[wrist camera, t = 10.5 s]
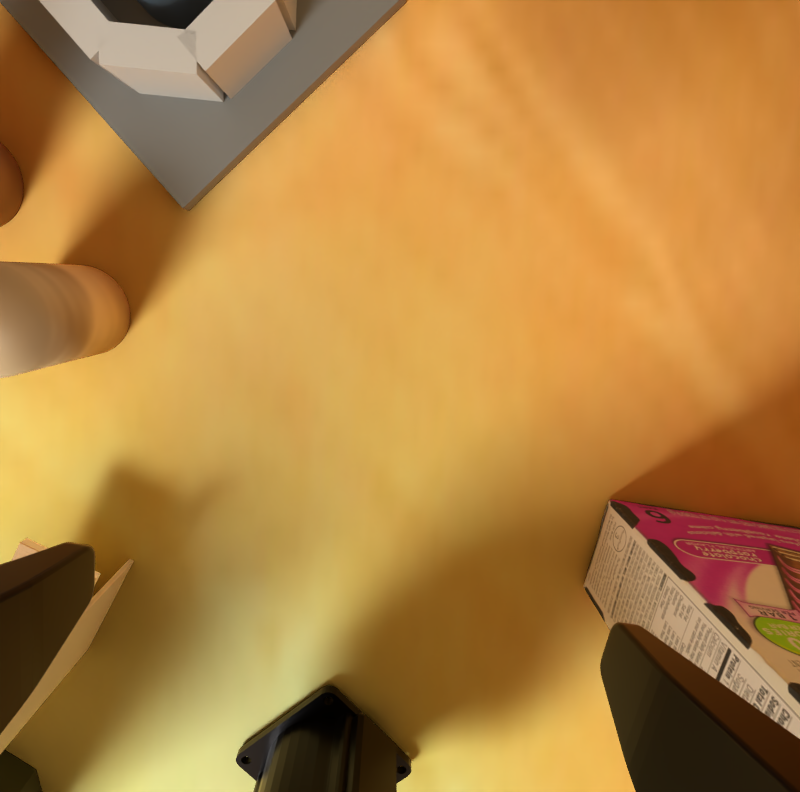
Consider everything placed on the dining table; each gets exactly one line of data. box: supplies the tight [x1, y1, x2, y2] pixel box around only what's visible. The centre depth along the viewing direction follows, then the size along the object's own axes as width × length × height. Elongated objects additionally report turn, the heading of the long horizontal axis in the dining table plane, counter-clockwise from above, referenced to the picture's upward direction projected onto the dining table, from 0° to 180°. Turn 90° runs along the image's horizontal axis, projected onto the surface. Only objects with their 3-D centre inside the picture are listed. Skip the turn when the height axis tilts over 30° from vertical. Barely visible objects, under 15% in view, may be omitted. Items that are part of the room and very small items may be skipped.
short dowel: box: [0, 262, 130, 378], centre depth 18 cm, size 4×4×5 cm
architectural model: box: [0, 538, 134, 754], centre depth 20 cm, size 3×7×7 cm, turn 150°
